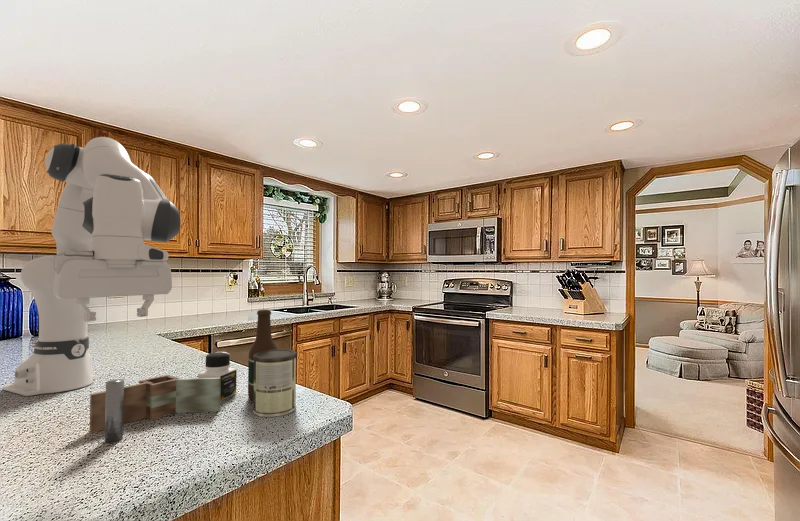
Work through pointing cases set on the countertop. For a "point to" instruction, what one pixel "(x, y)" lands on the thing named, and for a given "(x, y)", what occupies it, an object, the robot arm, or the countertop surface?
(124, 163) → the robot arm
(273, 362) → the coffee can
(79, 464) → the countertop surface
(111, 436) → the hinge pin
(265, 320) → the beer bottle
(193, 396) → the stand
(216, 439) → the countertop surface
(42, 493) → the countertop surface
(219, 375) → the medicine bottle
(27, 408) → the countertop surface
